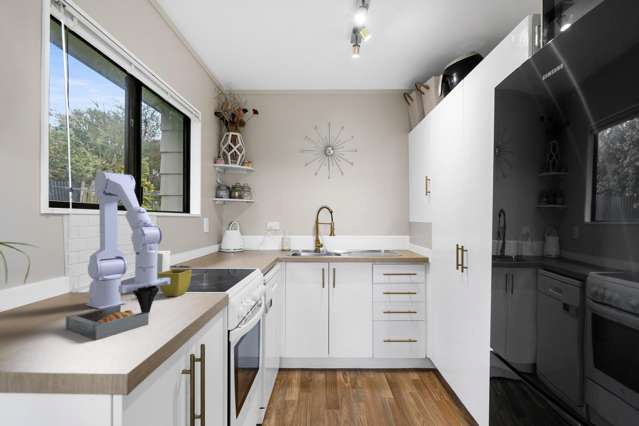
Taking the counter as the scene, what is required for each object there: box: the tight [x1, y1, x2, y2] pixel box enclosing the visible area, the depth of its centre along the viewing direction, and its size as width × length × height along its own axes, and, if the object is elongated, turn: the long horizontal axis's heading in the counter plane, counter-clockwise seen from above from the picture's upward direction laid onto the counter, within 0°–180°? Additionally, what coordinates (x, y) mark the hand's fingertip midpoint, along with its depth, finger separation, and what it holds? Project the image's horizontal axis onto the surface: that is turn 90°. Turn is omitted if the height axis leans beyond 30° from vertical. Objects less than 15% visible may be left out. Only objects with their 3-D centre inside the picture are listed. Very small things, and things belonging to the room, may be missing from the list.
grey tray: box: [65, 304, 150, 341], centre depth 82 cm, size 15×13×3 cm
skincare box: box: [156, 250, 171, 293], centre depth 125 cm, size 8×7×16 cm
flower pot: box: [158, 269, 192, 297], centre depth 117 cm, size 9×9×9 cm
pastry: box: [97, 309, 134, 323], centre depth 82 cm, size 9×7×4 cm
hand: (145, 312), depth 91 cm, fingers closed
